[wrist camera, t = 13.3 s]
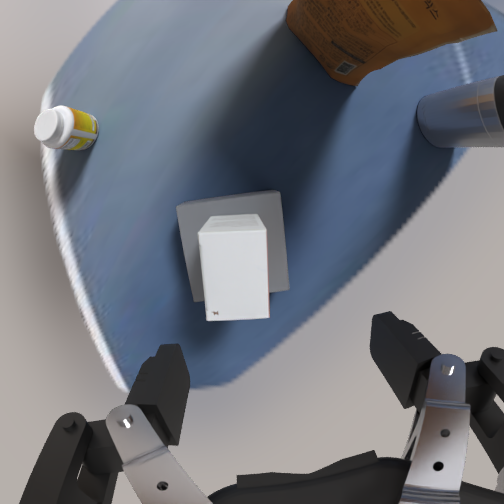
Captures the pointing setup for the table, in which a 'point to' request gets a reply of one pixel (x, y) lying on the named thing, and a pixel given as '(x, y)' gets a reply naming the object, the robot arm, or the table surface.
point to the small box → (235, 267)
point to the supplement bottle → (66, 128)
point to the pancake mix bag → (381, 30)
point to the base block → (259, 203)
